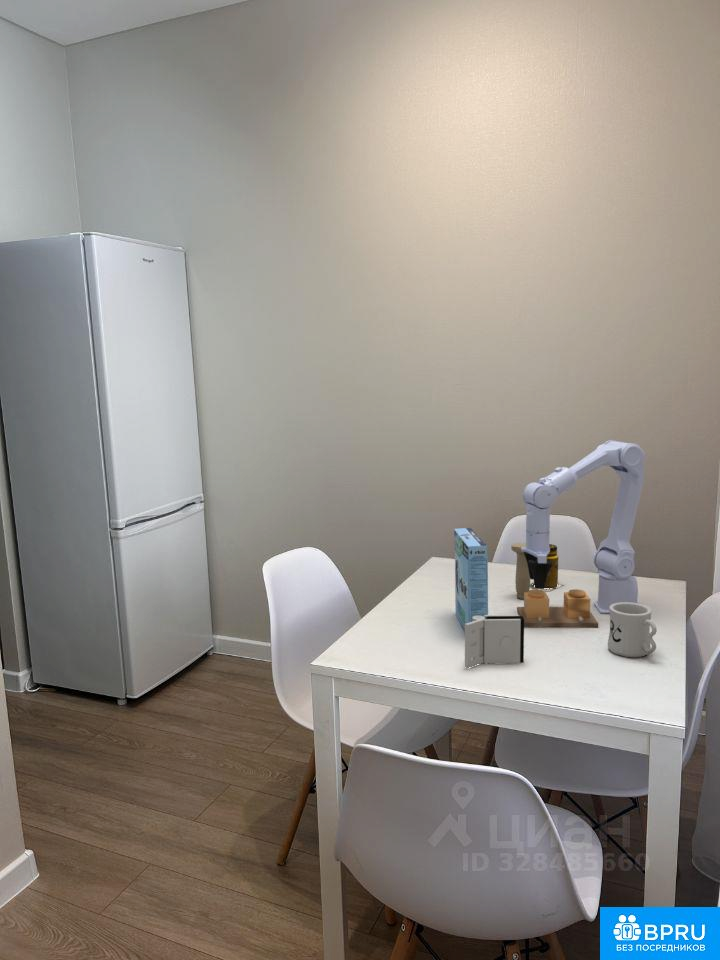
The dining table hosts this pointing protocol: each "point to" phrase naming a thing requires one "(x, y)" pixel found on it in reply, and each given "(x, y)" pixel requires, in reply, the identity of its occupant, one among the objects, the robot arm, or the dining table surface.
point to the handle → (521, 571)
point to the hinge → (494, 639)
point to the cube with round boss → (536, 604)
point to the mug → (631, 630)
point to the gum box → (470, 575)
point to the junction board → (558, 620)
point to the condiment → (551, 569)
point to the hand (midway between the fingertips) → (536, 583)
